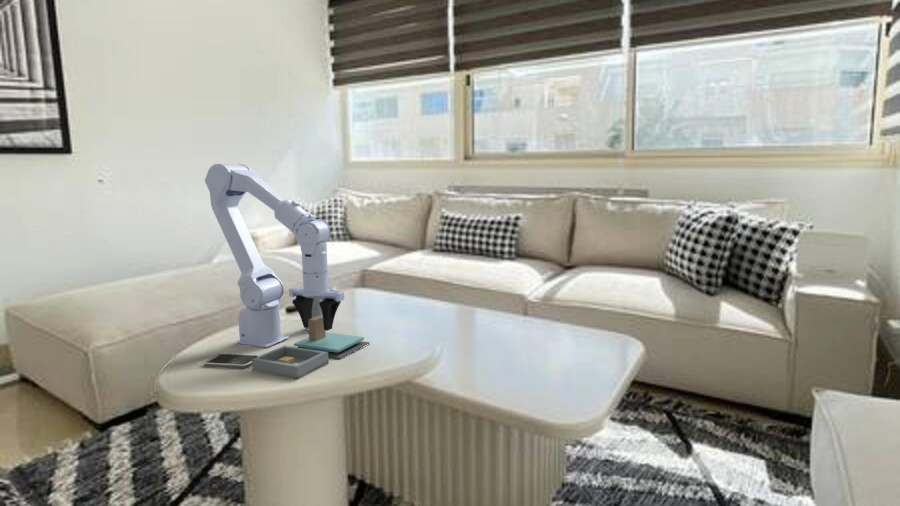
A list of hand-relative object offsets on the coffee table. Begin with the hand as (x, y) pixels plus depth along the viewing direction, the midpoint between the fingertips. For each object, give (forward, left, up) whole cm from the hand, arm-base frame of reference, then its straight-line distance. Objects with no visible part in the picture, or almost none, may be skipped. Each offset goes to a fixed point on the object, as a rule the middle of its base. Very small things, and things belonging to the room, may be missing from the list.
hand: (317, 328), depth 130 cm
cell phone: (-10, -17, -5) cm, 21 cm away
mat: (+4, 0, -4) cm, 6 cm away
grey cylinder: (-10, +12, -5) cm, 17 cm away
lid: (+3, 0, -3) cm, 5 cm away
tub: (+4, -14, -4) cm, 15 cm away
